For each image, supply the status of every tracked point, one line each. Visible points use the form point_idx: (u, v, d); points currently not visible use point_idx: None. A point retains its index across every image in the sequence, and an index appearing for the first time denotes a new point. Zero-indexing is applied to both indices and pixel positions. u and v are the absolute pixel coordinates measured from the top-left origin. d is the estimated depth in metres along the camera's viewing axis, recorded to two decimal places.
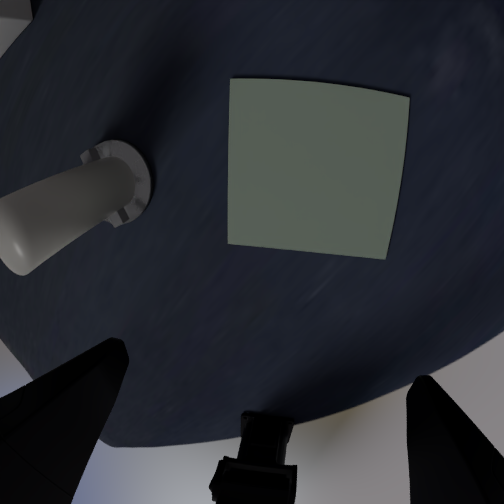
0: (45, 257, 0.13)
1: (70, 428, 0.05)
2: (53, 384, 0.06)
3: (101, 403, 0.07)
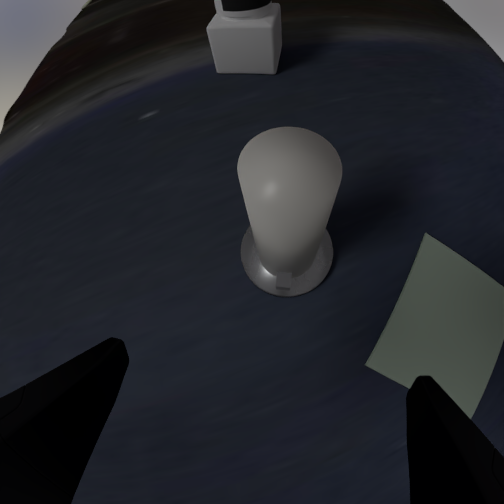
0: (304, 223, 0.12)
1: (70, 428, 0.05)
2: (53, 384, 0.06)
3: (101, 403, 0.07)
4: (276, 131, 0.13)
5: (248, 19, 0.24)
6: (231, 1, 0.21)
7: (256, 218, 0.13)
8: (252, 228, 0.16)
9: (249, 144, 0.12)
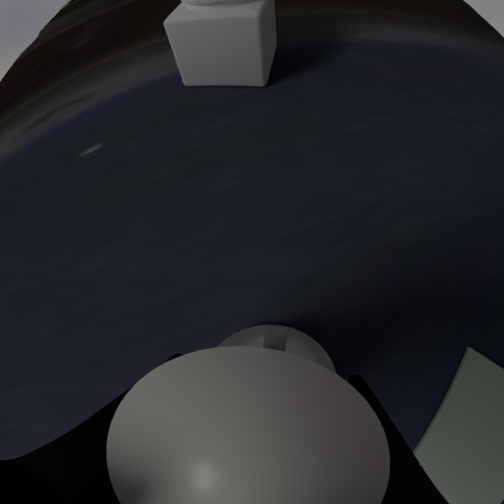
0: None
1: None
2: None
3: None
4: (207, 364, 0.04)
5: (223, 7, 0.15)
6: None
7: None
8: None
9: (130, 402, 0.04)
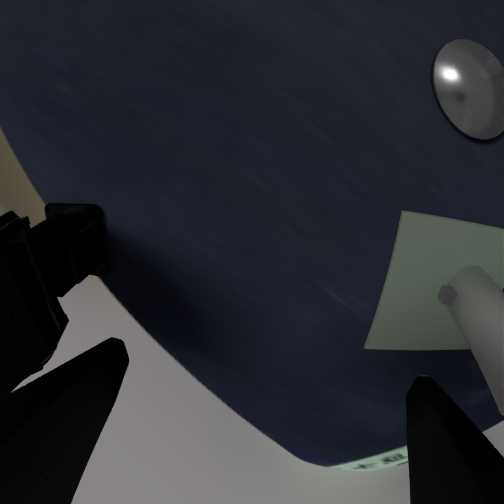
0: (495, 389, 0.11)
1: (70, 428, 0.05)
2: (53, 384, 0.06)
3: (101, 403, 0.07)
4: None
5: None
6: None
7: None
8: None
9: None
